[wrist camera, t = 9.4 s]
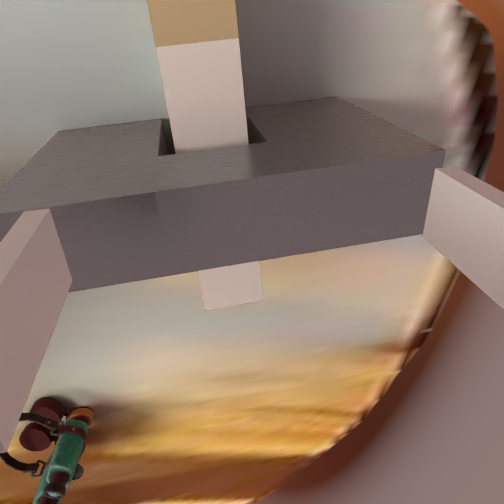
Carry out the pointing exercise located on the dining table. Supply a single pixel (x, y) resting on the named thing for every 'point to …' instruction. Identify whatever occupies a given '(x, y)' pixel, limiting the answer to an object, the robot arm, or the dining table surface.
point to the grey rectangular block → (205, 108)
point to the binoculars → (65, 453)
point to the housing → (225, 192)
